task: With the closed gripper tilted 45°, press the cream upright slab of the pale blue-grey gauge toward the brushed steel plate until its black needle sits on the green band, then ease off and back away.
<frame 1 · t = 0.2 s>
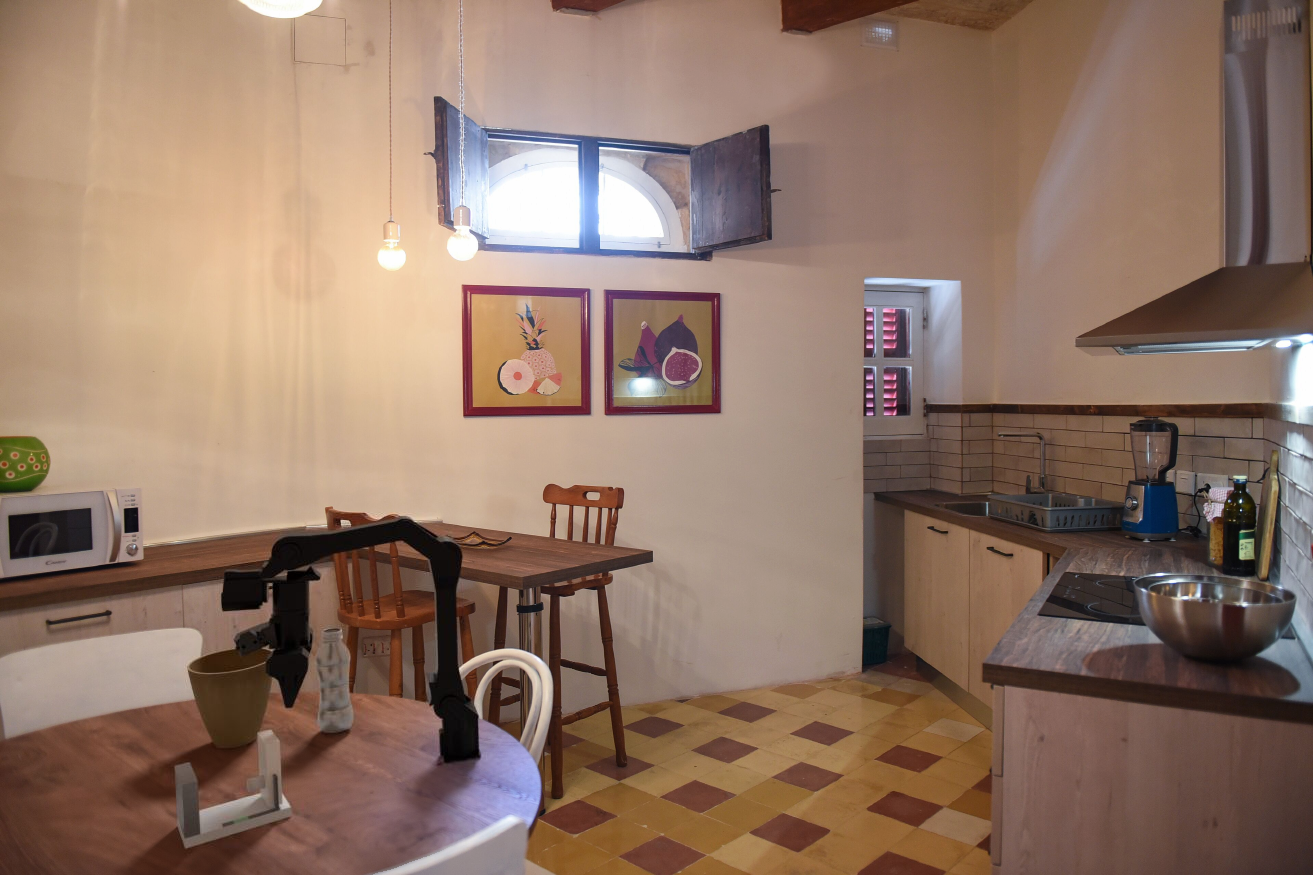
hand: (291, 698, 139), 14 cm above the table, tool pointing down, fingers open, 9 cm apart
brushed steel plate: (187, 799, 122), on the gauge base, point 6 cm above the table
plastic bottle: (336, 731, 161), on the table
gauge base: (236, 820, 127), on the table
cream upright slab: (263, 771, 128), point 7 cm above the table, slide at 0.0 cm
plant pot: (235, 741, 156), on the table
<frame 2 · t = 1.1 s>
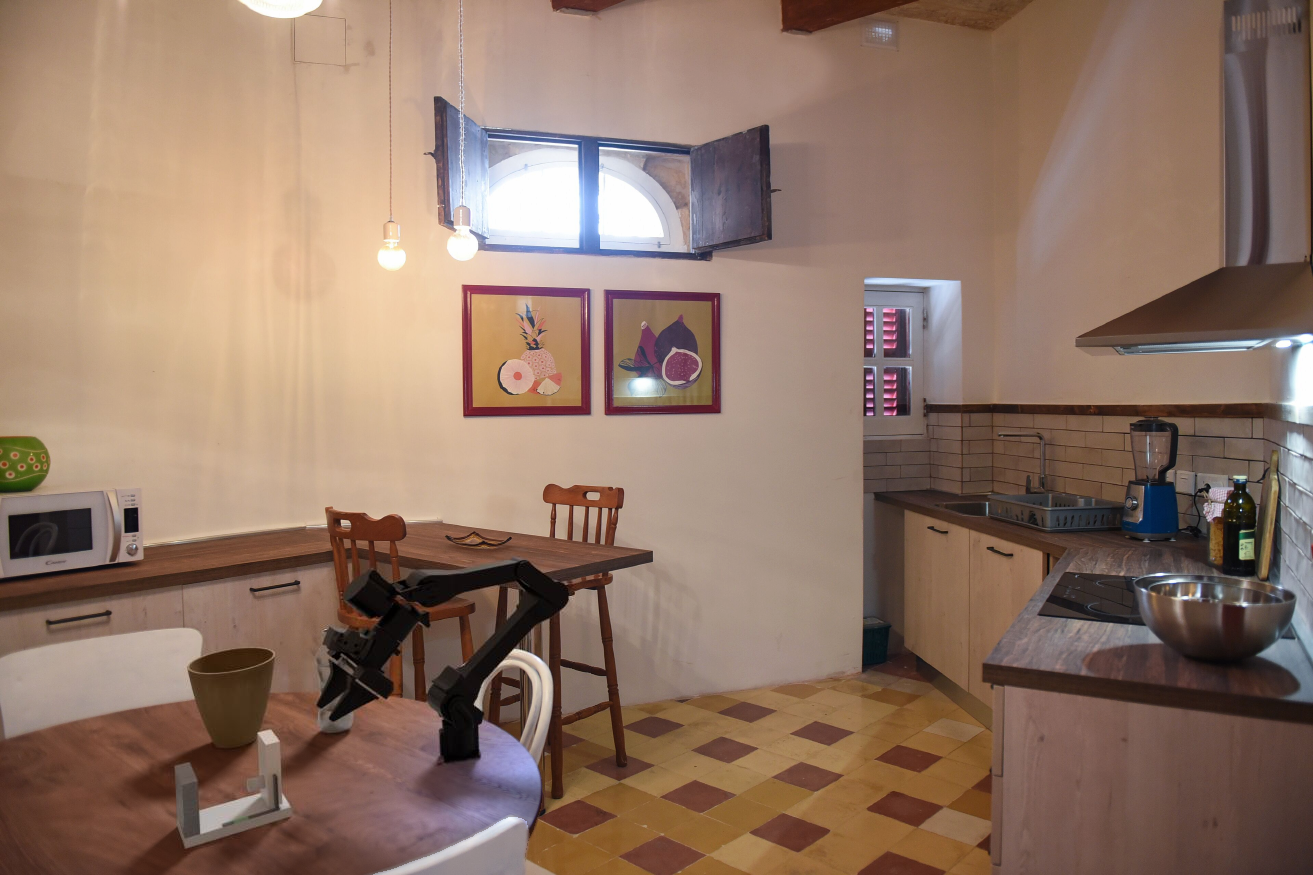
hand: (324, 713, 134), 13 cm above the table, tool tilted 45°, fingers open, 7 cm apart
nothing on the table moved.
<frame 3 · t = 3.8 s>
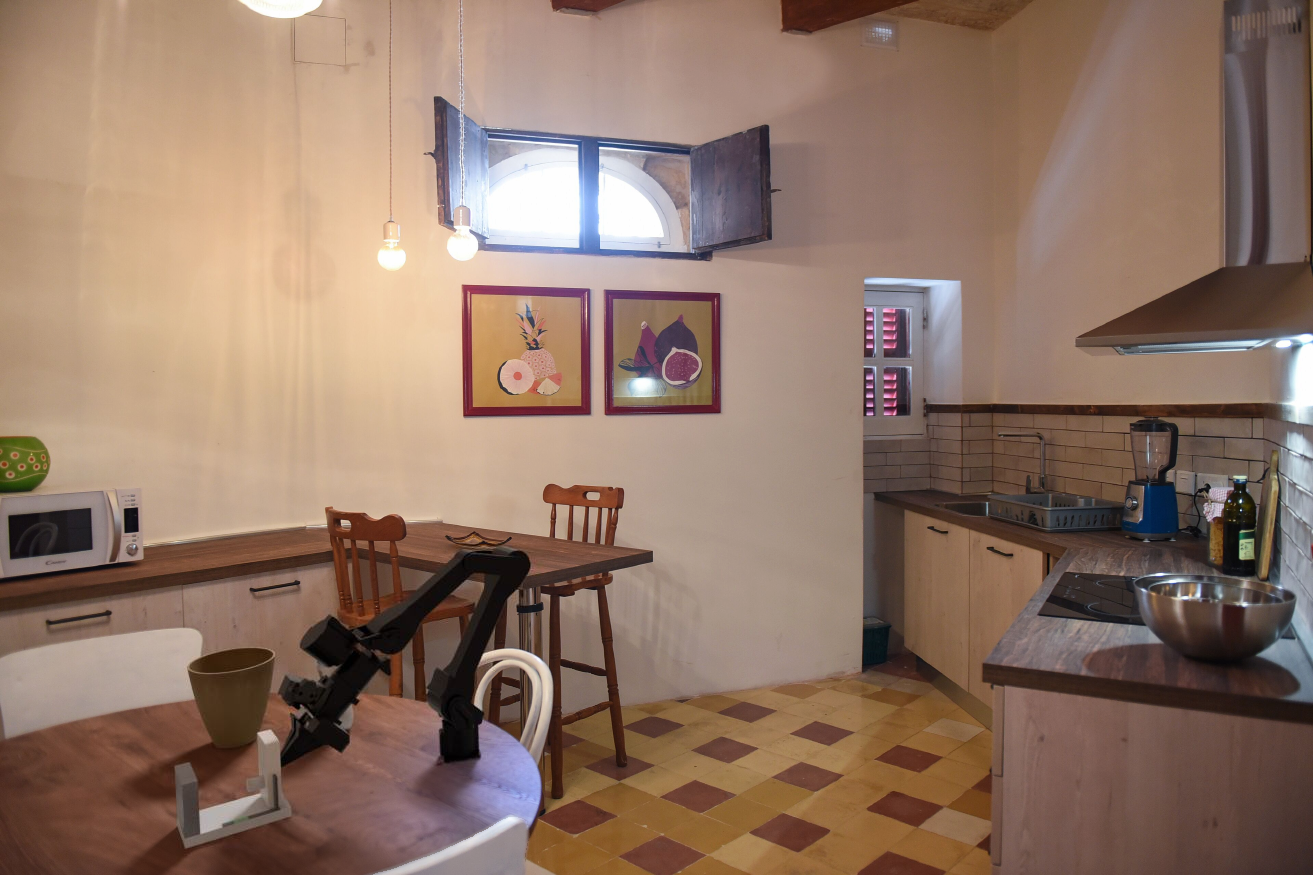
hand: (278, 765, 130), 7 cm above the table, tool tilted 45°, fingers closed, pressing on cream upright slab
cream upright slab: (262, 771, 128), point 7 cm above the table, slide at 0.0 cm, touching gripper
everything else where it was.
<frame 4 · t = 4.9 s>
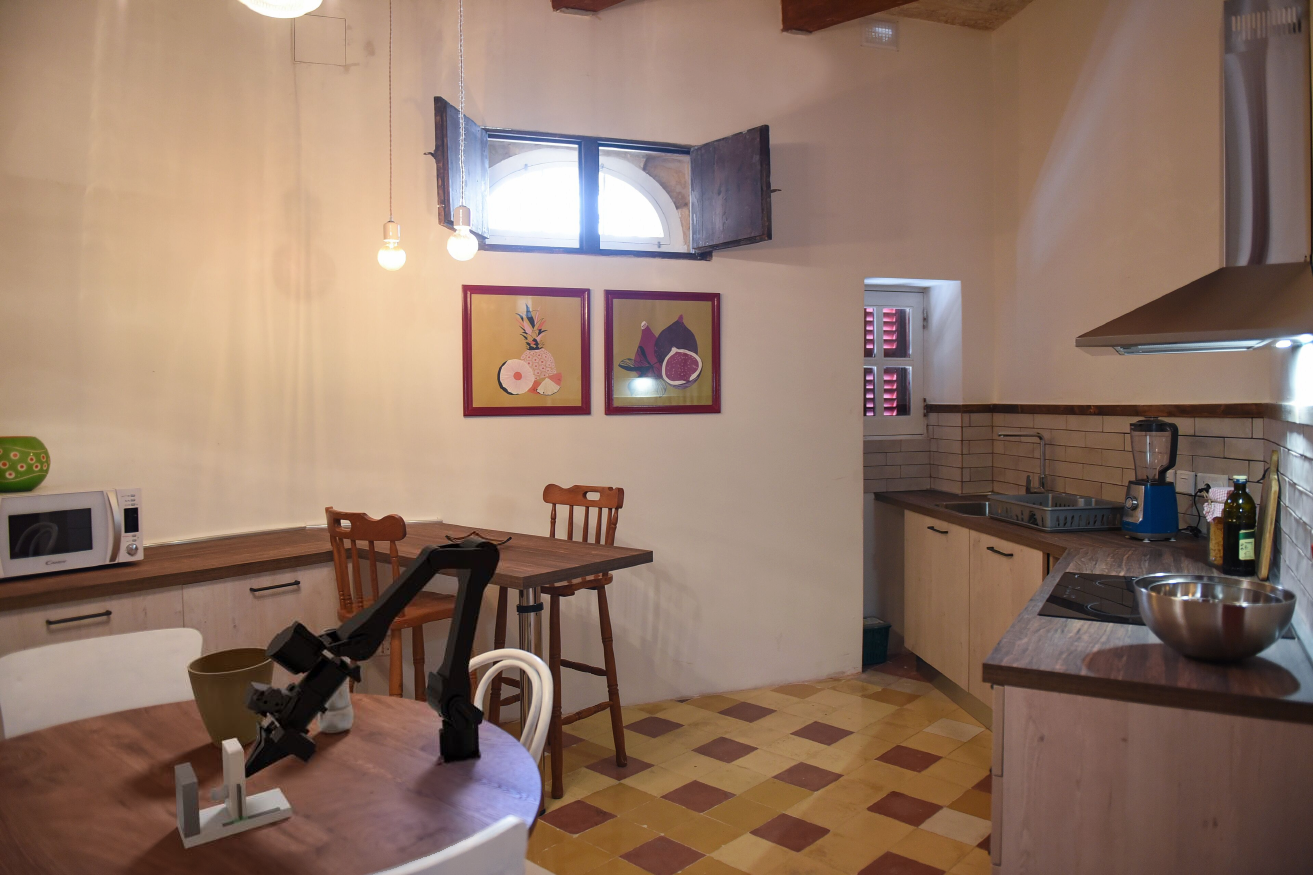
hand: (243, 775, 127), 7 cm above the table, tool tilted 45°, fingers closed, pressing on cream upright slab
cream upright slab: (227, 780, 125), point 7 cm above the table, slide at 5.1 cm, touching gripper
everything else where it was.
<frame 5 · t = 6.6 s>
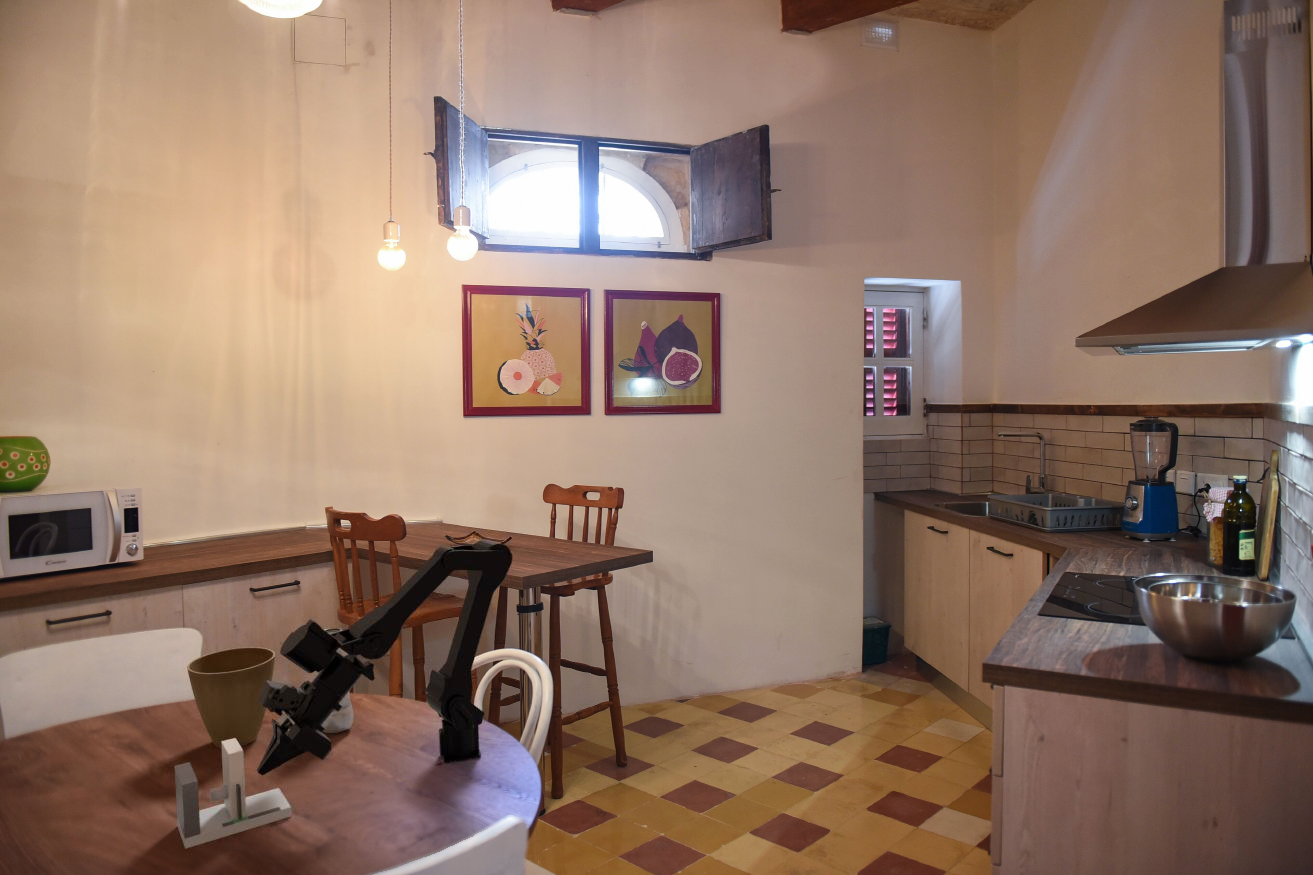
hand: (259, 773, 128), 6 cm above the table, tool tilted 45°, fingers closed
cream upright slab: (226, 781, 125), point 7 cm above the table, slide at 5.2 cm
everything else where it was.
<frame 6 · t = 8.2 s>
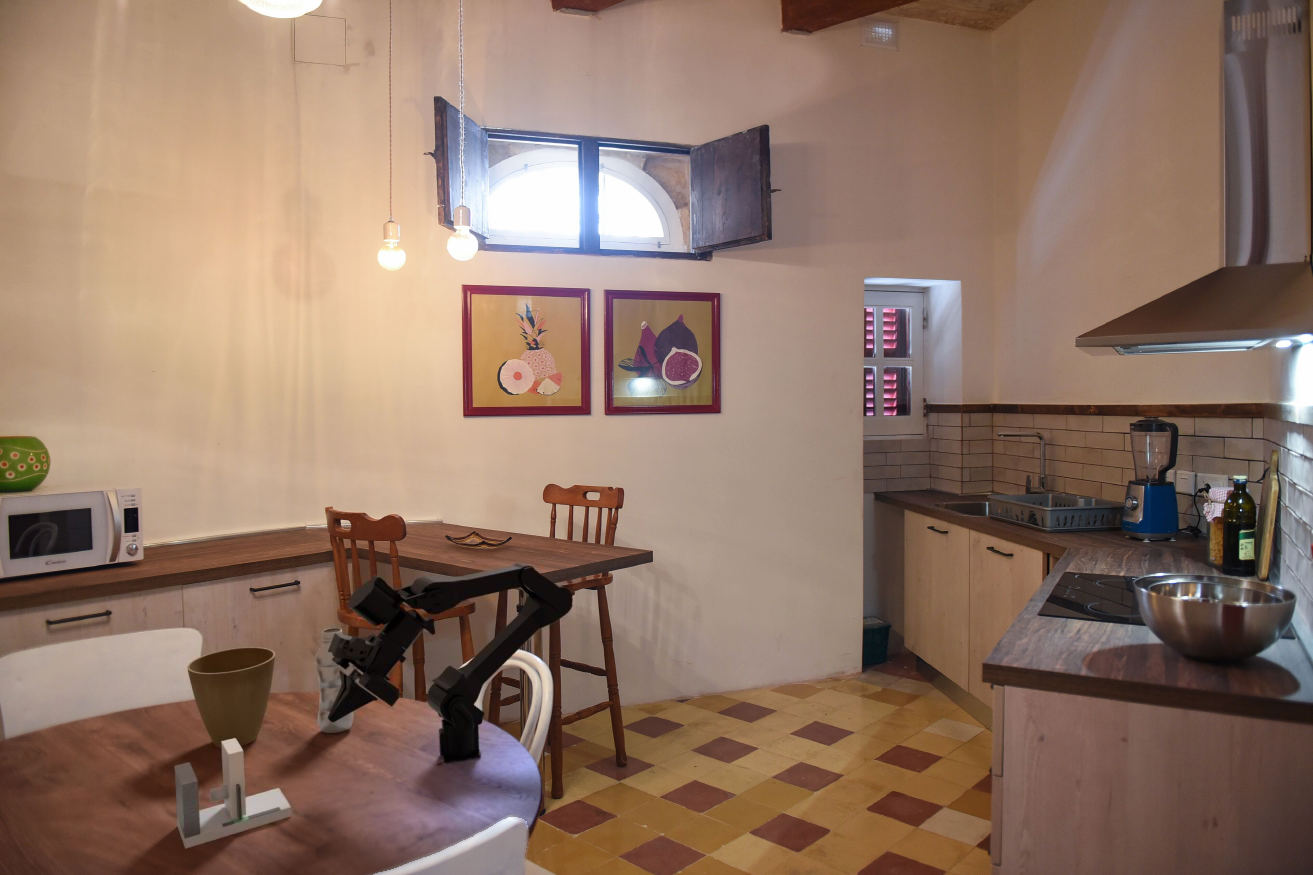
hand: (330, 720, 135), 12 cm above the table, tool tilted 45°, fingers closed
nothing on the table moved.
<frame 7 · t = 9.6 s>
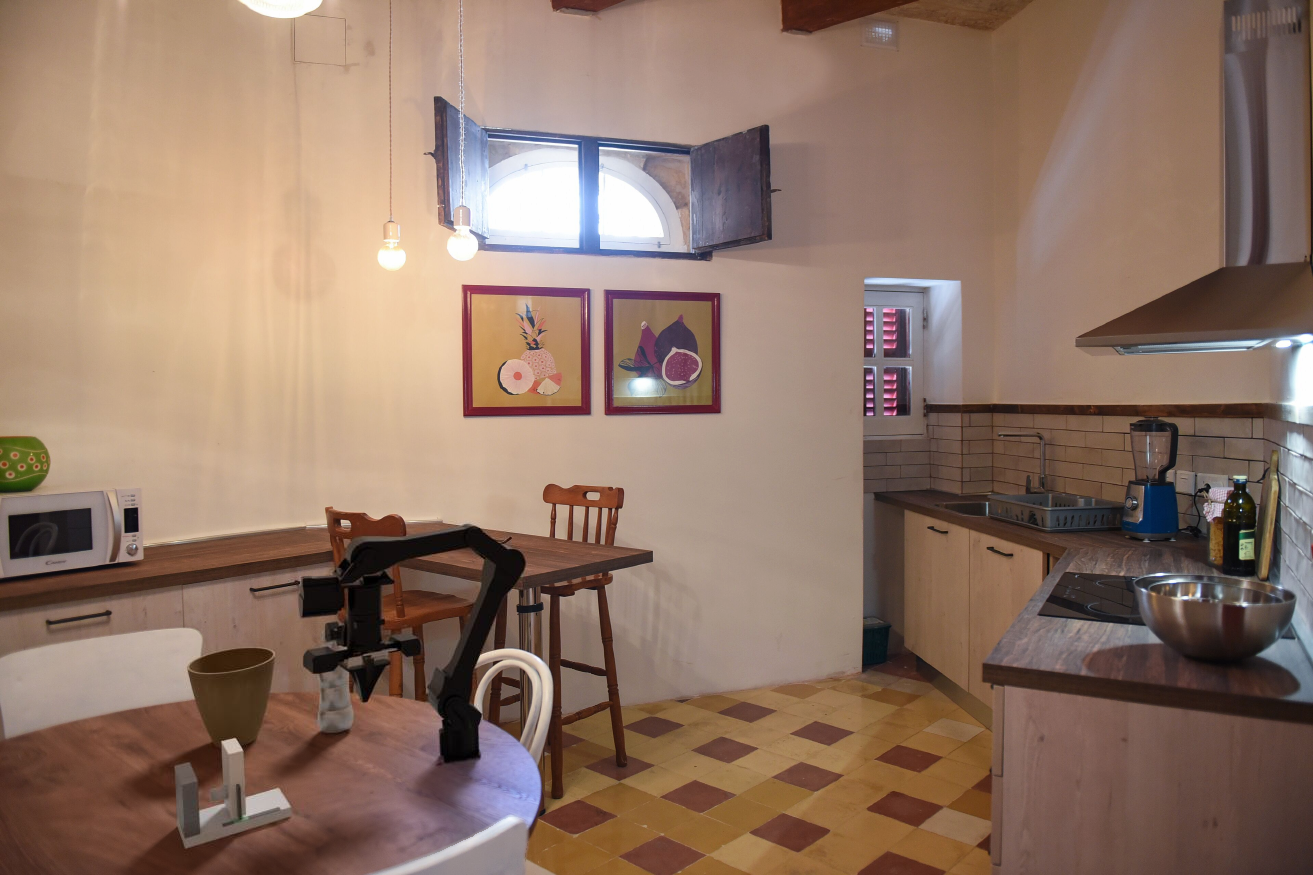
hand: (364, 701, 140), 13 cm above the table, tool pointing down, fingers closed
nothing on the table moved.
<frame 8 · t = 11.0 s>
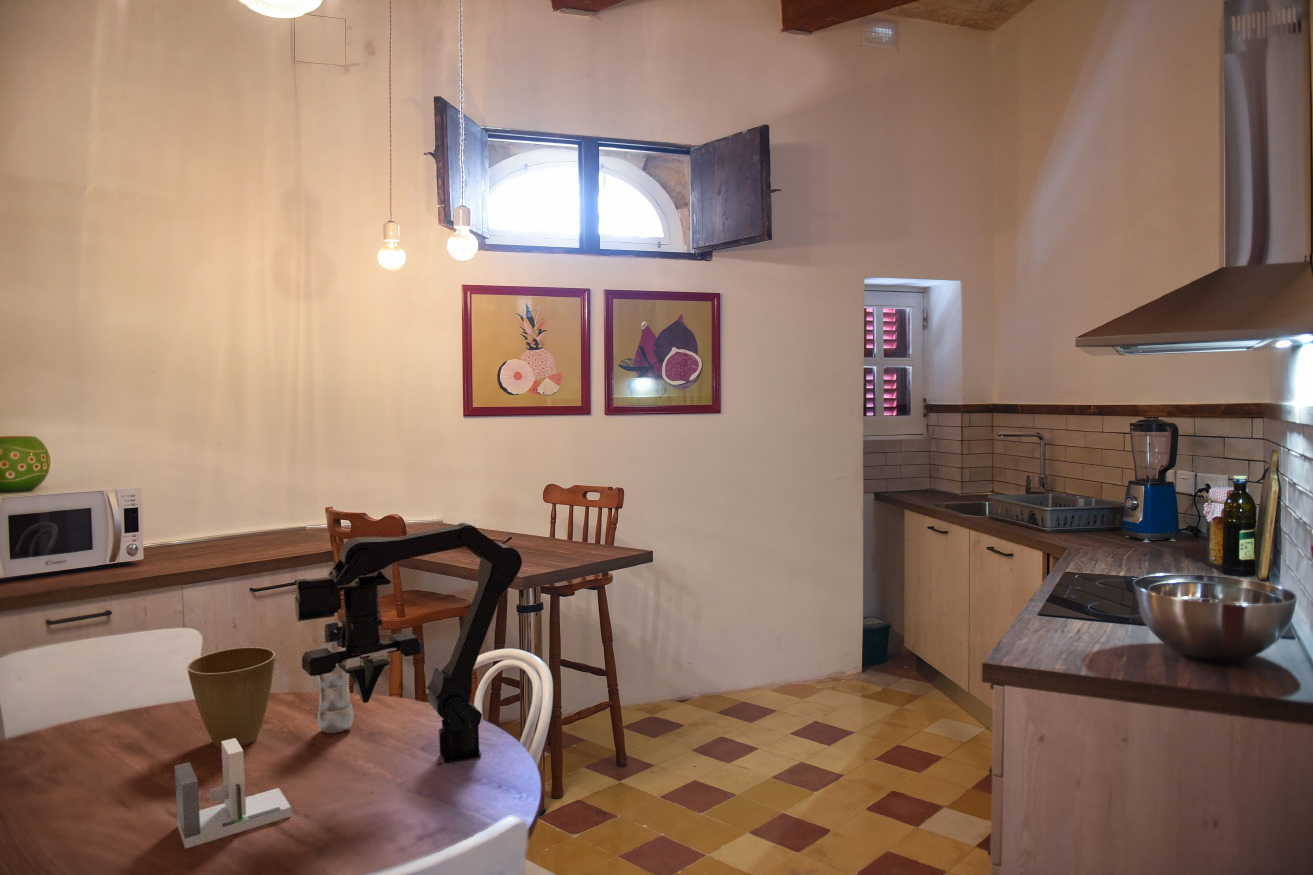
hand: (365, 701, 140), 13 cm above the table, tool pointing down, fingers closed
nothing on the table moved.
at the end: cream upright slab slide at 5.2 cm; plastic bottle moved 0.2 cm from its start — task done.
